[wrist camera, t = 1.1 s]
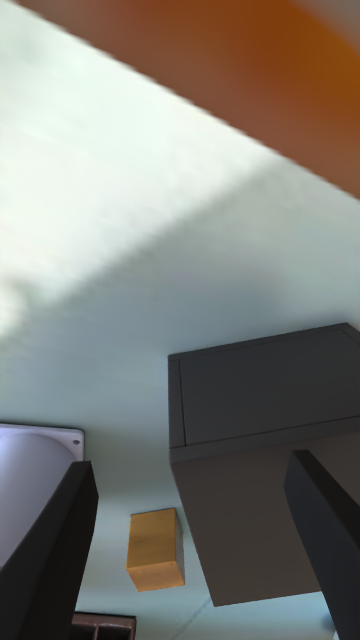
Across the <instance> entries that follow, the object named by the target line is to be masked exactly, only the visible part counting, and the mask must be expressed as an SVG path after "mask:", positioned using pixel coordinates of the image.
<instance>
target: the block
mask: <svg viewBox="0 0 360 640" xmlns="http://www.w3.org/2000/svg"><path fill="white" fill-rule="evenodd" d="M126 570H127V572H128V573H129V575H130V577H131V579H132V581H133V583H134V584H135V586H136V588H137V590H138V592H142V591H149V590H156V589H162V588H169V587H175V586H182V585H185V569H184V549H183V532H182V529H181V526H180V523H179V520H178V517H177V514H176V511H175V508H172V509H165V510H159V511H153V512H147V513H141V514H135V515H131V523H130V533H129V543H128V553H127V563H126Z"/></svg>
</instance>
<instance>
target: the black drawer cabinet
mask: <svg viewBox="0 0 360 640" xmlns="http://www.w3.org/2000/svg"><path fill="white" fill-rule="evenodd" d="M168 405H169V449H170V450H169V464H170V467H171V470H172V473H173V477H174V480H175V483H176V486H177V489H178V493H179V496H180V499H181V502H182V506H183V509H184V512H185V515H186V518H187V522H188V525H189V528H190V531H191V534H192V538H193V541H194V544H195V547H196V551H197V554H198V557H199V560H200V563H201V567H202V570H203V573H204V576H205V579H206V583H207V586H208V589H209V592H210V596H211V599H212V602H213V605H214V607H217V606H224V605H231V604H238V603H244V602H251V601H258V600H265V599H272V598H278V597H285V596H292V595H299V594H306V593H312V592H319V591H322V590H321V588H320V585H319V583H318V580H317V578H316V575H315V573H314V571H313V568H312V566H311V563H310V561H309V558H308V556H307V553H306V551H305V548H304V546H303V544H302V541H301V539H300V536H299V534H298V531H297V529H296V526H295V524H294V521H293V518H292V515H291V512H290V509H289V505H288V502H287V498H286V495H285V491H284V488H283V485H284V480H285V476H286V472H287V467H288V463H289V458H290V454H291V450H304V449H308V450H309V451H310V452H311V453H312V454H313V455H314V456H315V457H316V459H317V460H318V461H319V462H320V463H321V464H322V465H323V466H324V468H325V469H326V470H327V471H328V472H329V473H330V474H331V475H332V477H333V478H334V479H335V480H336V481H337V482H338V483H339V484H340V485H341V487H342V488H343V489H344V490H345V491H346V492H347V493H348V494H349V495H350V496H351V497H352V498H353V499H354V500H355V502H356V503H357V504H358V505H359V506H360V332H359V331H357V330H356V329H355V328H353V327H352V326H351V325H349V324H348V323H346V322H345V323H340V324H335V325H329V326H324V327H319V328H313V329H308V330H302V331H297V332H292V333H286V334H281V335H276V336H270V337H265V338H260V339H254V340H249V341H243V342H238V343H233V344H227V345H222V346H217V347H211V348H206V349H201V350H195V351H190V352H185V353H179V354H174V355H169V356H168Z"/></svg>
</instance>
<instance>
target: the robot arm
mask: <svg viewBox="0 0 360 640" xmlns="http://www.w3.org/2000/svg"><path fill="white" fill-rule="evenodd" d="M283 488H284V491H285V495H286V498H287V502H288V505H289V509H290V512H291V515H292V518H293V521H294V524H295V526H296V529H297V531H298V534H299V536H300V539H301V541H302V544H303V546H304V548H305V551H306V553H307V556H308V558H309V561H310V563H311V566H312V568H313V571H314V573H315V575H316V578H317V580H318V583H319V585H320V588H321V590H322V593H323V595H324V598H325V600H326V603H327V606H328V608H329V611H330V614H331V616H332V619H333V622H334V626H335V629H336V632H337V635H338V638H339V640H360V506H359V505H358V504H357V503H356V502H355V500H354V499H353V498H352V497H351V496H350V495H349V494H348V493H347V492H346V491H345V490H344V489H343V488H342V487H341V485H340V484H339V483H338V482H337V481H336V480H335V479H334V478H333V477H332V475H331V474H330V473H329V472H328V471H327V470H326V469H325V468H324V466H323V465H322V464H321V463H320V462H319V461H318V460H317V459H316V457H315V456H314V455H313V454H312V453H311V452H310V451H309V450H308V449H304V450H291V454H290V458H289V463H288V467H287V472H286V476H285V480H284V485H283ZM98 499H99V496H98V491H97V487H96V482H95V478H94V474H93V469H92V465H91V461H84V433H83V432H82V431H81V430H76V429H63V428H50V427H38V426H25V425H12V424H0V640H68V639H69V634H70V629H71V624H72V619H73V615H74V611H75V607H76V603H77V598H78V594H79V590H80V586H81V582H82V578H83V574H84V570H85V566H86V562H87V558H88V553H89V549H90V545H91V541H92V537H93V532H94V527H95V520H96V514H97V506H98Z"/></svg>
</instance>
